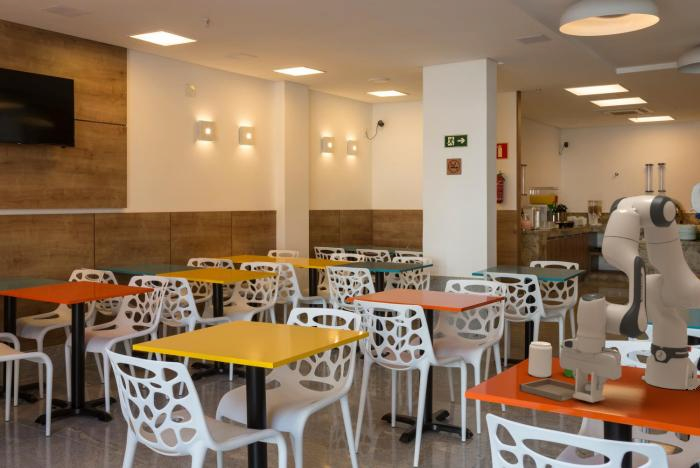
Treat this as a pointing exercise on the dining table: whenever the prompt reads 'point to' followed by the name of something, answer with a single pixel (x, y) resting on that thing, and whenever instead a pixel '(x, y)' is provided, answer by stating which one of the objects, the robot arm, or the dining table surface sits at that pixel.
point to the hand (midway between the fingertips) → (589, 387)
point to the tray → (549, 389)
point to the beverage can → (540, 359)
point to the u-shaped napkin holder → (595, 394)
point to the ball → (587, 387)
